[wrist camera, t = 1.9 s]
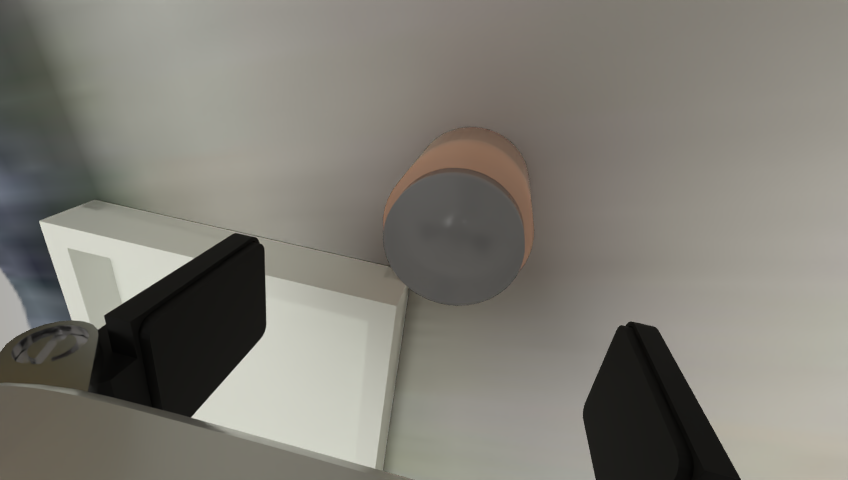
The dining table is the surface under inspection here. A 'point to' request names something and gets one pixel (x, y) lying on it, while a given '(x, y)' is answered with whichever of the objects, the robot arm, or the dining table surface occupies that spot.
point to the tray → (285, 325)
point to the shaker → (461, 218)
